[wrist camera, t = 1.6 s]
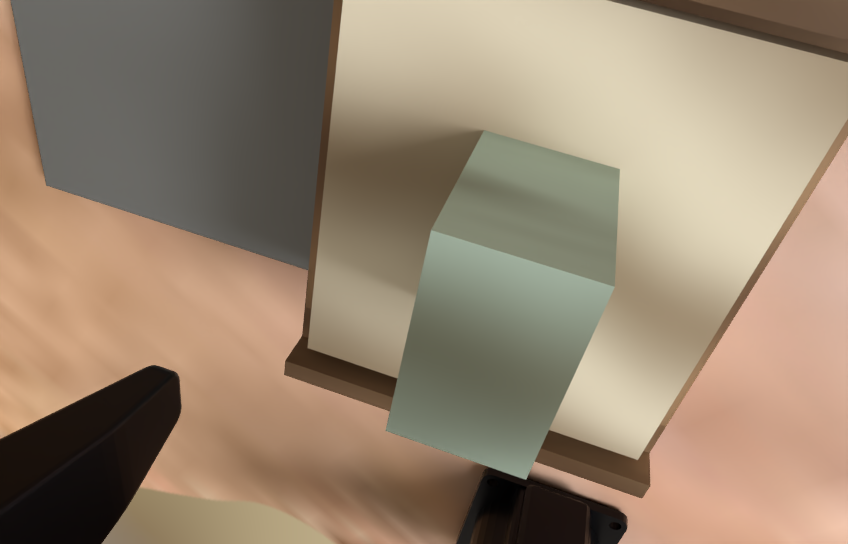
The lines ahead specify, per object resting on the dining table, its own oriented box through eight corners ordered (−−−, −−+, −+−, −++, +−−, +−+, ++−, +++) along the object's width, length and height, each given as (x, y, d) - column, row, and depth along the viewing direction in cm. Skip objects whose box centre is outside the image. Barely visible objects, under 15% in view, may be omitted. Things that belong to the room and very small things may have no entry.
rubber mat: (330, 267, 25) (324, 275, 24) (57, 179, 26) (46, 185, 25) (382, -164, 16) (374, -165, 16) (-22, -261, 18) (-41, -264, 17)
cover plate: (637, 438, 18) (638, 615, 14) (318, 331, 20) (230, 465, 15) (864, 58, 12) (993, 175, 8) (363, -71, 13) (232, -31, 9)
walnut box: (640, 357, 23) (641, 498, 18) (355, 266, 24) (284, 374, 19) (849, -33, 15) (954, 25, 10) (416, -138, 16) (321, -131, 11)
